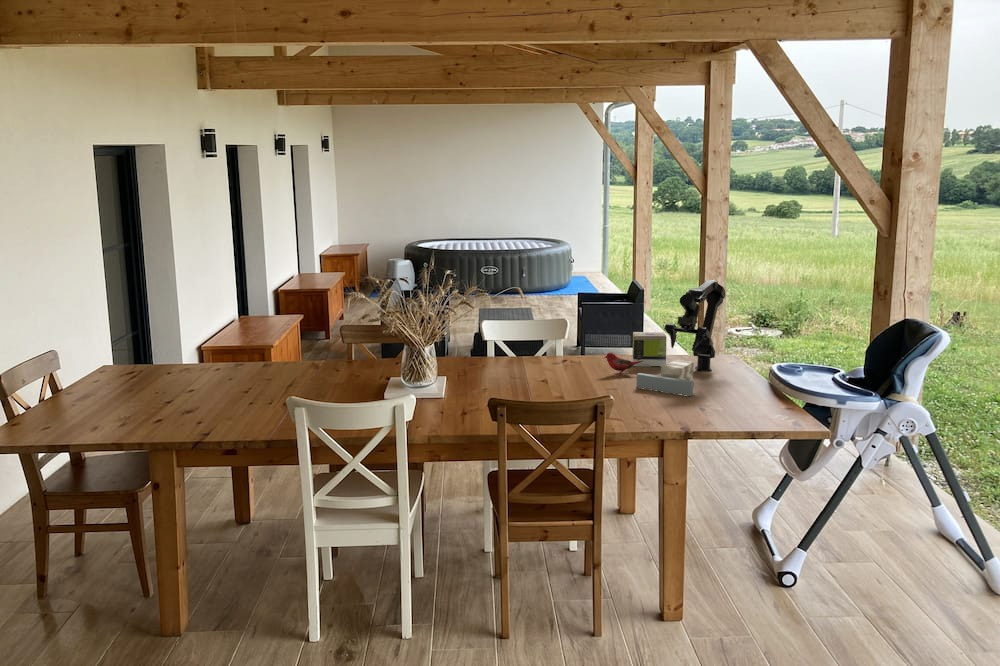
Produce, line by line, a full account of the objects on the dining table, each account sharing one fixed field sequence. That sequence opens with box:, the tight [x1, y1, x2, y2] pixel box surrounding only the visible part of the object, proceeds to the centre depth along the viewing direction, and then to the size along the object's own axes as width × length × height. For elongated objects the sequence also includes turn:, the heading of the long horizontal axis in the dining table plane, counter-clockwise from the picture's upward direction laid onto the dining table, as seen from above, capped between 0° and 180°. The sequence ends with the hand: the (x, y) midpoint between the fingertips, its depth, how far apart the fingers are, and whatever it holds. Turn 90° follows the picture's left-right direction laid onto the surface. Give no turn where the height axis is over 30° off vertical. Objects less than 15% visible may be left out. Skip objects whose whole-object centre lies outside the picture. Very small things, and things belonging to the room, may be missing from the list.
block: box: [660, 359, 695, 381], centre depth 373 cm, size 16×8×9 cm, turn 146°
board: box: [636, 372, 694, 397], centre depth 362 cm, size 2×24×6 cm, turn 56°
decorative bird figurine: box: [604, 352, 643, 375], centre depth 389 cm, size 3×18×10 cm, turn 92°
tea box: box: [632, 331, 667, 368], centre depth 407 cm, size 15×10×15 cm, turn 84°
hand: (682, 349), depth 373 cm, fingers open, 9 cm apart
